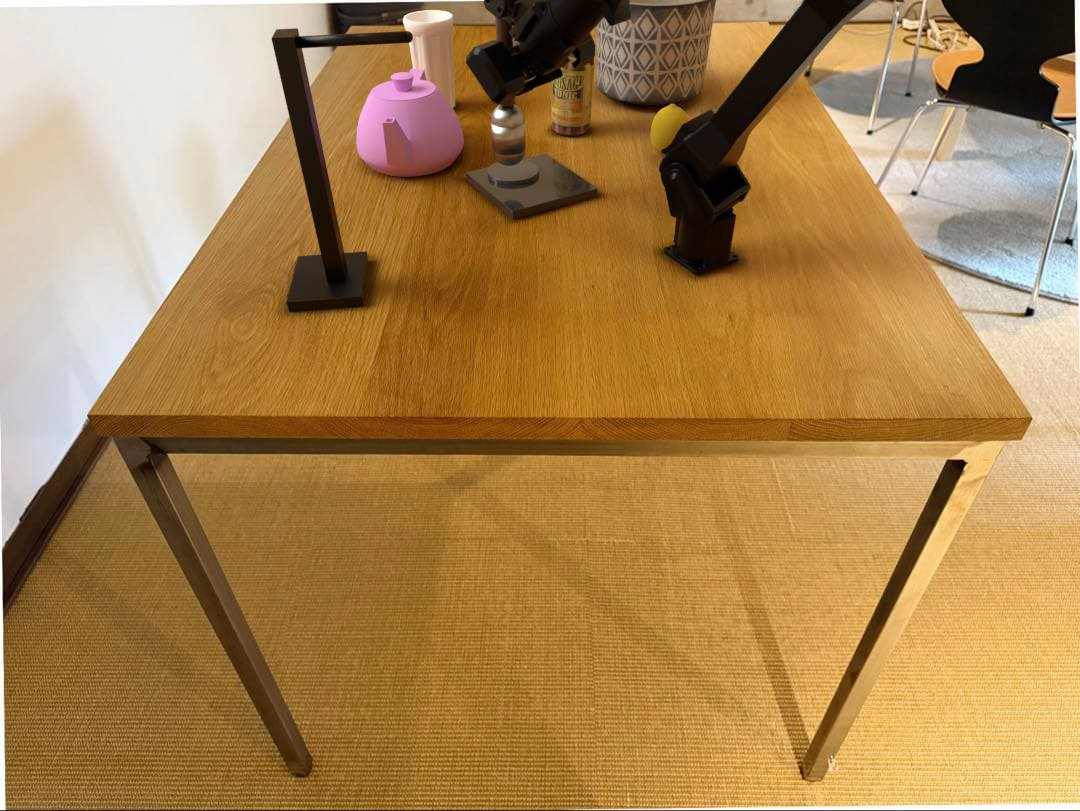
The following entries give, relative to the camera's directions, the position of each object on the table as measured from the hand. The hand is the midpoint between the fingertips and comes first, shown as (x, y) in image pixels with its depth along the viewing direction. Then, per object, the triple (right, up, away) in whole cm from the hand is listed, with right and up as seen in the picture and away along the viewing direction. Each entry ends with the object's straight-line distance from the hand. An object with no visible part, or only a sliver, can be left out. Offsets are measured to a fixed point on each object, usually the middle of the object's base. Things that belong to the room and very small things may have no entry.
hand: (498, 97), depth 96 cm
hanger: (-14, -25, -10) cm, 31 cm away
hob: (+4, -9, +8) cm, 13 cm away
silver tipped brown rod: (+1, -7, +5) cm, 9 cm away
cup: (-12, +11, +33) cm, 37 cm away
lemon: (+24, -3, +15) cm, 28 cm away
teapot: (-14, -3, +17) cm, 22 cm away
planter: (+24, +15, +36) cm, 46 cm away
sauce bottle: (+10, +4, +24) cm, 27 cm away
